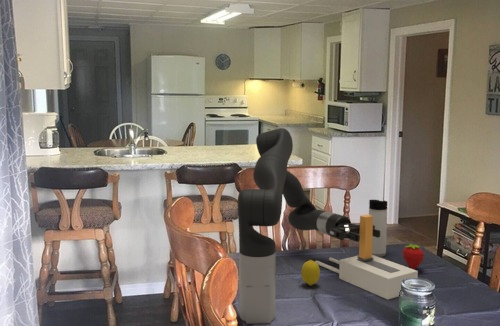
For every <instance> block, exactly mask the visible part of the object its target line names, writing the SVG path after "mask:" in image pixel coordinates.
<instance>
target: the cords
mask: <svg viewBox="0 0 500 326" xmlns="http://www.w3.org/2000/svg"><path fill="white" fill-rule="evenodd" d="M328 261H330V262H332V263H334V264H336V265H339V264H340V259H339V260H338V259H336V258H333V257H329V258H328ZM314 262H316V263H317V264H318V266H319V267H323V268H325V269H328V270H329V271H332V272H334V273H337V274H339V268H337V267H334V266H332V265H329V264H326V263H324V262H321V261H320V260H315V261H314Z"/></svg>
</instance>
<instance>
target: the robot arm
mask: <svg viewBox="0 0 500 326" xmlns="http://www.w3.org/2000/svg"><path fill="white" fill-rule="evenodd" d="M255 140H256V141H255V144H256V148H257V151H258V155H259V158H257V161H256V163H255V166H254V170H253V174H252V176H253V181H254V183H255V185H256V186H257V189H255V188H245V189H244V188H243V189H242V190H241V191H240V192H239V194H238V198H237V217H238V218H237V219H238V220H237V221H238V234H239V235H238V240H239V241H238V242H239V243H238V251H239V252H238V253H239V255H238V256H239V258H238V259H239V261H238V262H239V263H238V265H239V266H238V268H239V269H238V271H239V273H238V274H239V276H238V277H239V280H238V281H239V283H238V284H239V290H238V291H239V294H238V296H239V318H240V320H242V321H243V322H245V323H246V325H247V324H248V325H249V324H251V325H252V324H253V325H254V324H271V323H272V321H273V320H275V318H276V251H277V250H276V247H277V246H276V241H275V240H274V239H273V238H271V237H270V236H266V235H264V234H263V233H260V232H259V231H257V230H256V229H255V228H254V227H273V226H276V225H278V223H280V219H281V217H282V210H283V207H282V206H283V198H284V200H285V203H286V204H287V206H288V207H290V208H292V209H293V208H294V209H293V210H292V211H291V212H290V213H289V214H288V217H287V218H288V219H287V220H288V224H290V226H291V227H292V228H294V229H296V230H299V231H317V232H320V233H322V234H324V235H326V236H330V237H332V238H335V239H336V240H340V241H344V240H346V241H349V240H350V241H354V242H355V243H359V241H360V223H355V222H351V219H350V218H349V217H347V216H345V215H342V214H338V213H334V212H330V211H329V212H328V211H326V210H322V209H317V207H316V206H315V205H314V203H312V201H311V200H310V199H309V197H307V195H306V194H305V191H304V189H303V187H302V184H301V182H300V180H299V178H297V176H295V174H293V173H291V172H290V171H288V166H289V165H288V164H289V160H290V158H291V156H292V153H293V149H294V148H293V147H294V145H293V138H292V135H291V132H290V131H289V130H288V129H286V128H283V127H279V128H278V127H277V128H275V129H270V130H268V131H266V132H265V131H264V132H262V133H260V134H258V135H257V136H256V139H255ZM372 236H374V237H377V238H378V237H380V230H377V229H375V226H374V225H373V235H372Z"/></svg>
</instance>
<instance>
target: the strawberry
mask: <svg viewBox="0 0 500 326" xmlns="http://www.w3.org/2000/svg"><path fill="white" fill-rule="evenodd" d="M402 257H403V259H404V261H405V263H406V264H407V267H408V268H411V269H414V270H416V269H417V268H418V267H419V266H420V265H421V263H422V262H423V260H424V258H425V255H424V251H423V250H422V249H421V248H420V246H419V244H414V243H413V241H411V243H409V245H404V248H403V250H402Z"/></svg>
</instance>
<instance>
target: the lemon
mask: <svg viewBox="0 0 500 326" xmlns="http://www.w3.org/2000/svg"><path fill="white" fill-rule="evenodd" d="M320 276H321V270H320V265H318V264H317V263H316V262H315V261H314V260H312V259H309V260H308V261H306V262H304V263H303V265H302V267H301V278H302V280H303V282H304V283H306V284H308V286H310V287H311V286H313V285H314V284H317V283H318V282H319V279H320V278H321V277H320Z"/></svg>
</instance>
